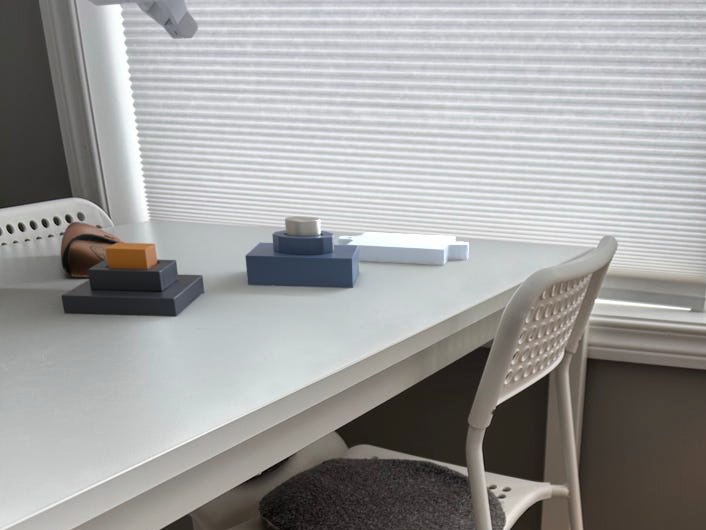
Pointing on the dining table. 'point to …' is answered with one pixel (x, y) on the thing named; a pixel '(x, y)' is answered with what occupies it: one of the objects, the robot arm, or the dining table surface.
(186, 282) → the key block
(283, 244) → the key block
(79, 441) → the dining table surface
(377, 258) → the mounting plate
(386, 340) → the dining table surface
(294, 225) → the silver short cylinder
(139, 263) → the orange square flat block
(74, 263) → the sunglasses case
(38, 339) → the dining table surface
